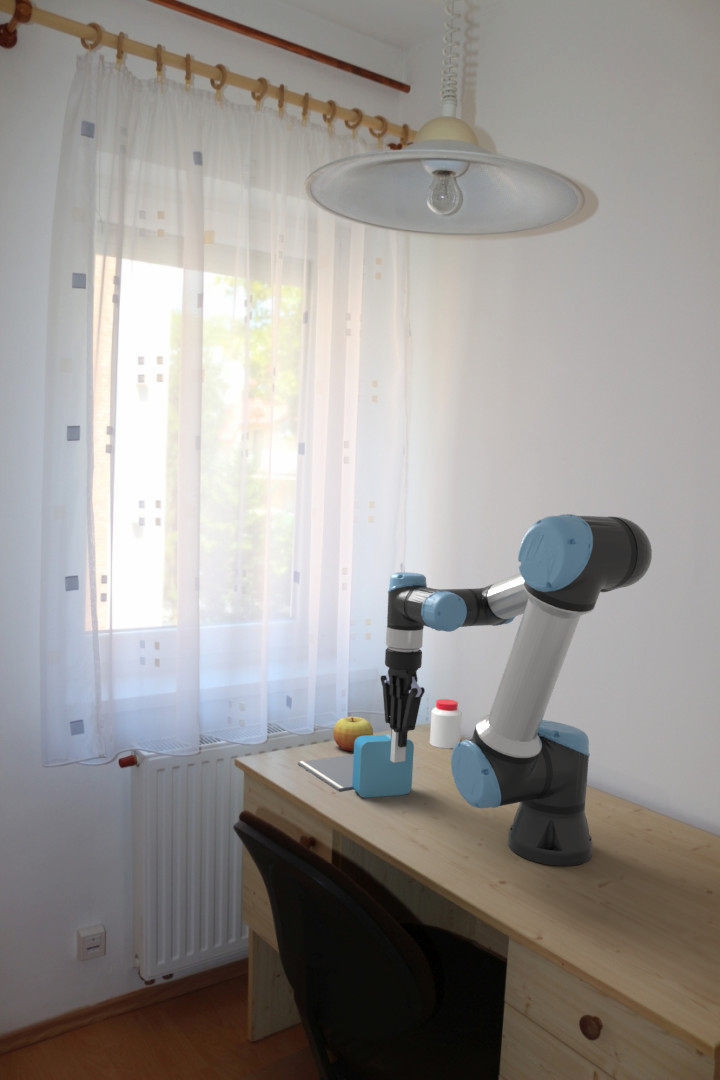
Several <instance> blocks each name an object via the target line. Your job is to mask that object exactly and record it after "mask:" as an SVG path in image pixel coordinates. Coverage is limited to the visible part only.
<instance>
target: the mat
mask: <svg viewBox="0 0 720 1080" xmlns="http://www.w3.org/2000/svg"><path fill="white" fill-rule="evenodd" d="M353 759H354V753H352V754H345V755H338V756H332V757H331V756H330V757H325V758H316V759H312V760H300V761H297V765H298V766H300V767H302V768H303V769H304V770H306V771H307V772H309V773H310V774H312V775H314V776H315V777H316V778H317V779H319V780H321V782H324V783H325V784H327V785H328V786H330V787H331V788H333V789H335V791H337V792H343V791H347V790H354V788H353V786H352V779H353Z"/></svg>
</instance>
